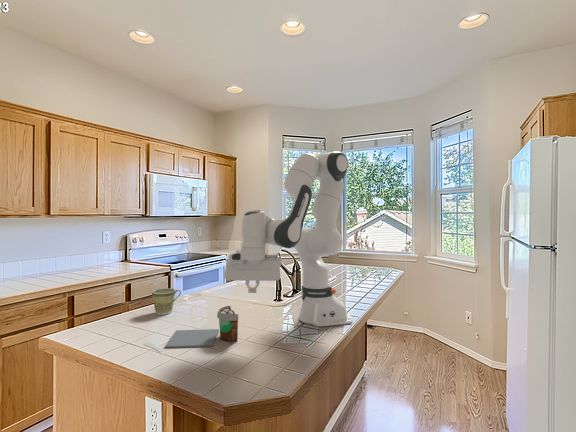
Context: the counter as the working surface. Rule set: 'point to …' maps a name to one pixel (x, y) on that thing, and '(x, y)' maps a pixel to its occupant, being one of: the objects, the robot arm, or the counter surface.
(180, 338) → the mat
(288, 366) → the counter surface
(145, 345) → the butter knife
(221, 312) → the food container
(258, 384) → the counter surface
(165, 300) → the ceramic cup
